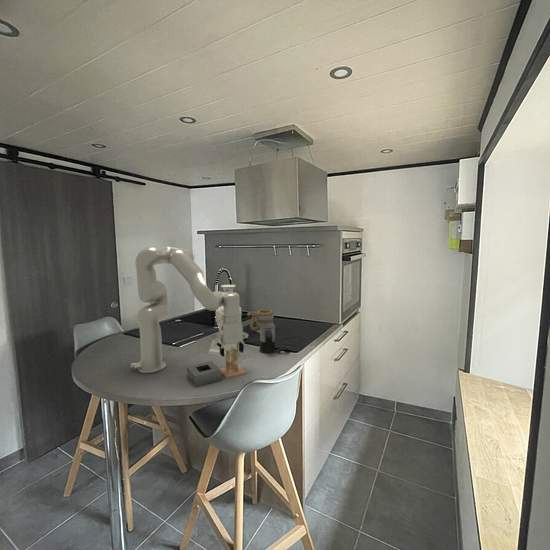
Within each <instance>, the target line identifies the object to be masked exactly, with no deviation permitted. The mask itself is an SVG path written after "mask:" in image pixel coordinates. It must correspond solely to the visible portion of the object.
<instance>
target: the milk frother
mask: <svg viewBox="0 0 550 550" xmlns="http://www.w3.org/2000/svg"><path fill="white" fill-rule="evenodd" d="M290 349H291V347H287V346H286V345H285V346H283V347H281V348H277V349H276V324H262V325H260V333H259V352H260V353H264V354H272V353H275V352H277V351H278V352H279V351H284V350H285V351H284V352H287V351H288V350H290ZM286 350H287V351H286Z"/></svg>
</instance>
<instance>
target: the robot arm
mask: <svg viewBox="0 0 550 550" xmlns="http://www.w3.org/2000/svg"><path fill="white" fill-rule="evenodd" d="M194 260H195V256H194V254H193V252H192V251H191V250H190V249H188V248H181V247H173V246H165V245H164V246H163V245H160V246H159V245H157V246H147V247H146V248H143V249H142V250H140V251H139V252H138V253H137V256H136V257H135V263H134V264H135V269H136V270H135V271H136V281H137V282H136V283H137V293H138V294H137V296H138V298H139V300H140V301H141V302H143V303H145V304H146V303H149V304H146V305H145V306H142V308H140V309H139V311H138V312H137V317H136V319H137V323H138V327H139V339H140V359H139V361H137V362H131V363H130V368H134V369H137V370H138V372H139V373H142V374H154V373H158V372H161V371H163V370H164V369H165V368H166V367H167V364H166V362H164V361H163V348H162V347H163V346H162V341H163V340H162V330H161V326H160V322H161V320H163V319H165V318H166V317H167V315H168V313H169V304H168V303H169V301H168V289H167V288H166V285H165V284H164V283H163V281H160V280H157V272H156V271H157V270H156V269H155V265H156V266H157V265H161V264H167V265H169V264H170V265H172V266H173V267H174V268H175V269H176V271H178V273H179V274H180V275H181V276H182V277H183V279H185V282H187V283H188V285H189V288H190V290H191V292H192V294H193V296H194V297H195V298H196V300H197V301H198V302H199V304H201V306H202V307H203V308H204V309H206V310H208V311H211V312H212V311H213V312H214V311H216V309H218V308H219V307H221V306H223V310H224V315H223V317H222V318H221V321H222V320H223V321H224V322H222V327H221V334H220V335H218V336H217V337H216V338H213V339H214V341H215V343H216V345H218V346H219V347H220V354H221V355H222V356H221V357H225V356H224V348H223V347H224V346H225V344H232V343H239V352H240V353H244V351H245V349H244V348H245V347H244V345H245V344H246V342H247V340H248V337H249V333H247V332H244V328H243V327H244V326H243V323H242V320H241V321H240V307H241V306H240V302H241V301H240V300H241V299H240V294H239V293H238V292H234V291H233V292H229V293H226V292H224V291H218V290H215V291H212V290H211V289H210V288H209V286H208V285H207V283H206V282H205V278H204V271H203V269H201V267H199V265H198V264H197V263H196V262H195V261H194ZM220 339H221V343H220V344H219V342H218V341H219V340H220Z"/></svg>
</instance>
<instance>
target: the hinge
mask: <svg viewBox="0 0 550 550" xmlns="http://www.w3.org/2000/svg"><path fill="white" fill-rule="evenodd" d="M214 339H215V338H213V339H212V341H211V345H210V348H209V350H208V355H212V356H219V357H223V356H222V355H221V354H220V347H219V346H218V345H216V343H215V341H214ZM218 342H219V344H220V343H221V339H220V340H219V341H218ZM239 343H240V342H238V343H232V344H225V346H224V347H223V348H224V357H225V358H226V350H227V349H232V348H235V349H236V350H238V356H239V352H240V351H239Z"/></svg>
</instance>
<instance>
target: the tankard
mask: <svg viewBox="0 0 550 550" xmlns="http://www.w3.org/2000/svg"><path fill="white" fill-rule="evenodd" d="M273 313H274V312H273V310H271V309H261V310H257V311H256V313H255V312H251V311H249V312H247V313H246V315H247V317H250V316H251V320H250V323H249V327H250V329H251V330H252V331H255V332H256V333H258V334H260V325H262V324H274V320H273V319H274V316H275V314H273ZM255 320H256V322H255ZM254 323H255V324H256V326H254ZM274 325H275V324H274Z"/></svg>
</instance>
